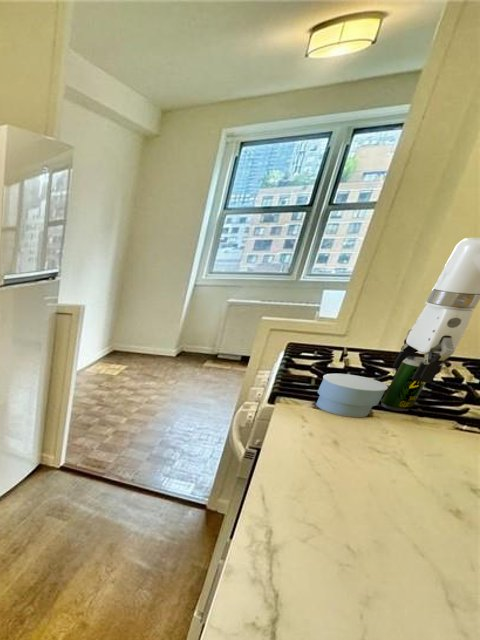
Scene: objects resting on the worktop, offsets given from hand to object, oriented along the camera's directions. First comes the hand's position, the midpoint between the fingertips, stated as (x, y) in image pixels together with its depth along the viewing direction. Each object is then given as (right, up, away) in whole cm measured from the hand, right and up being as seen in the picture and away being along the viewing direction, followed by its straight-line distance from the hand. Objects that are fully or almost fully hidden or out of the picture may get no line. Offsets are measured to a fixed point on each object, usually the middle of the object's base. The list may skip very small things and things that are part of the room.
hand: (410, 374), depth 113 cm
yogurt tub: (-13, -8, +3) cm, 16 cm away
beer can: (0, -8, +4) cm, 9 cm away
